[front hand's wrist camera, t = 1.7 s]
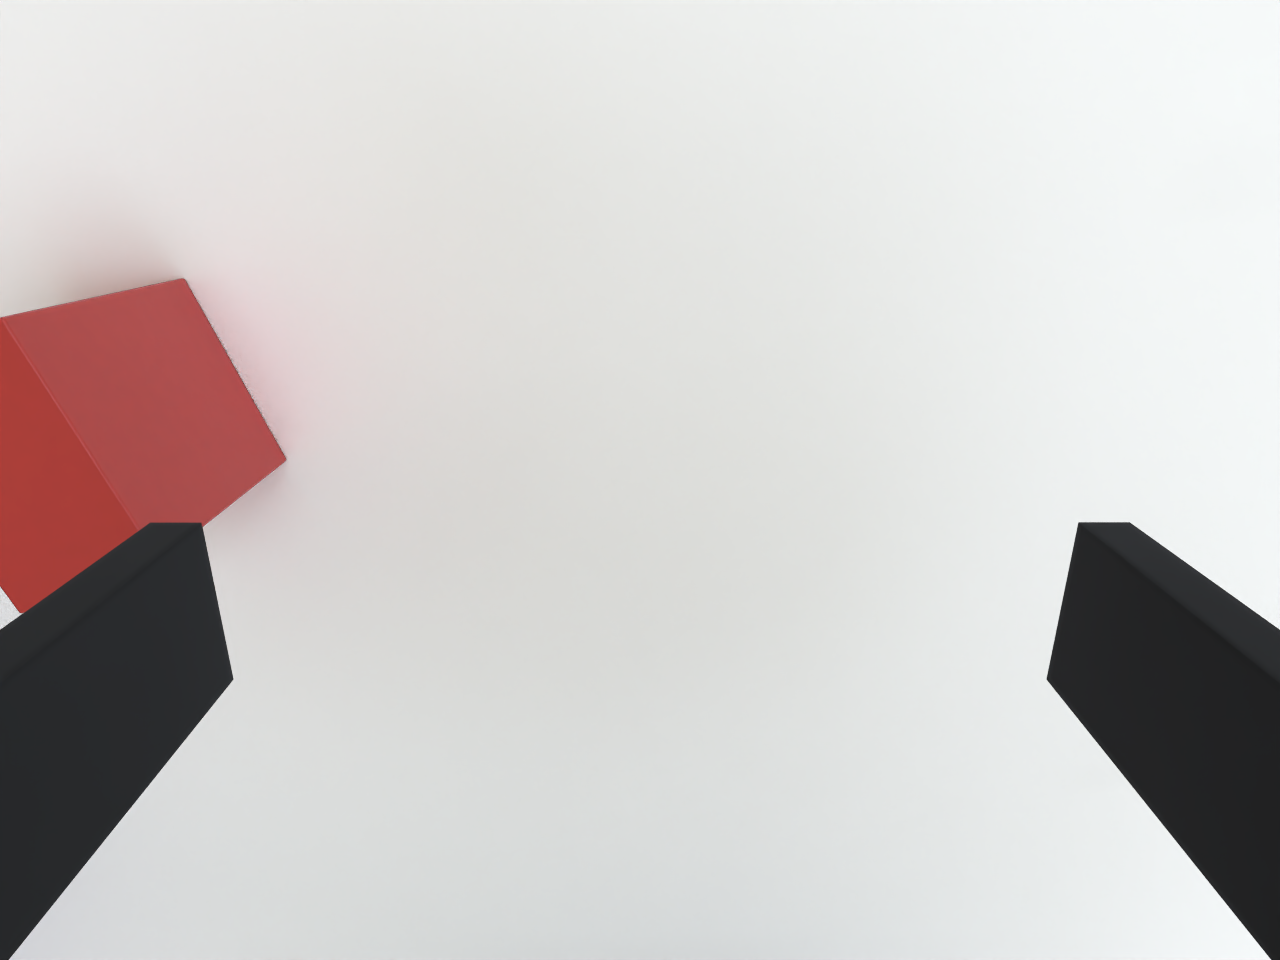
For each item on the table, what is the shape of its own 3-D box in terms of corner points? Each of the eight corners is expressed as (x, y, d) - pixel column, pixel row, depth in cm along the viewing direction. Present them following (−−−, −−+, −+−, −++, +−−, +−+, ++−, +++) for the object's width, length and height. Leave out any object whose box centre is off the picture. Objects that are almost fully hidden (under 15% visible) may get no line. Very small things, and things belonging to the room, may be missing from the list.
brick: (184, 277, 30) (1, 316, 22) (287, 460, 33) (160, 561, 24) (71, 325, 31) (-151, 382, 22) (181, 501, 33) (19, 615, 25)
